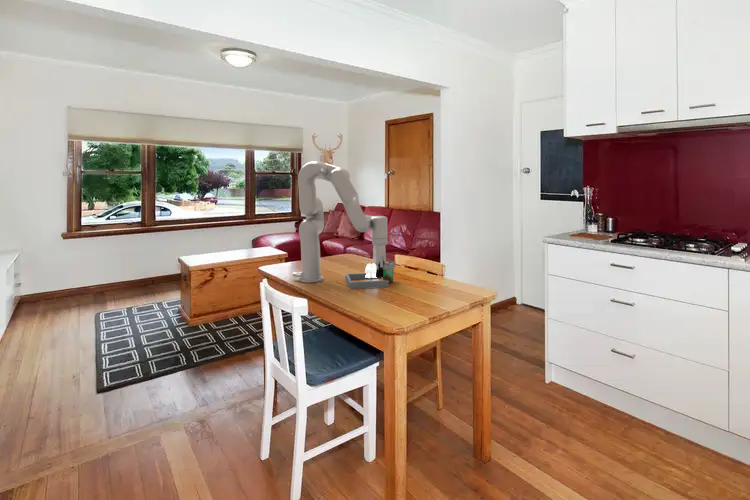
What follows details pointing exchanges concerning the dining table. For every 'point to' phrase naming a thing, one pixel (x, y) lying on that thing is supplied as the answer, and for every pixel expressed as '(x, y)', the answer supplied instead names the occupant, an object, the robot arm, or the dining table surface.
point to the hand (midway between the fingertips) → (379, 277)
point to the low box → (363, 283)
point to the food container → (388, 271)
